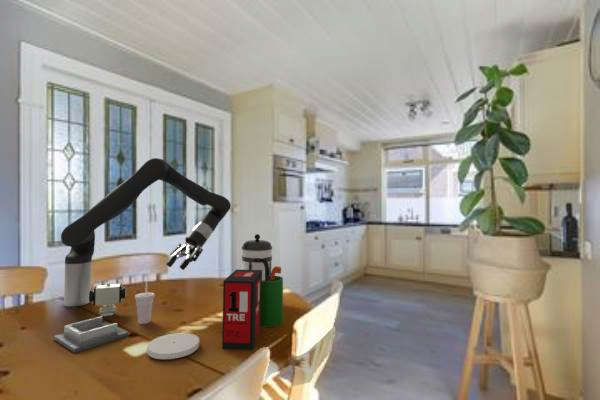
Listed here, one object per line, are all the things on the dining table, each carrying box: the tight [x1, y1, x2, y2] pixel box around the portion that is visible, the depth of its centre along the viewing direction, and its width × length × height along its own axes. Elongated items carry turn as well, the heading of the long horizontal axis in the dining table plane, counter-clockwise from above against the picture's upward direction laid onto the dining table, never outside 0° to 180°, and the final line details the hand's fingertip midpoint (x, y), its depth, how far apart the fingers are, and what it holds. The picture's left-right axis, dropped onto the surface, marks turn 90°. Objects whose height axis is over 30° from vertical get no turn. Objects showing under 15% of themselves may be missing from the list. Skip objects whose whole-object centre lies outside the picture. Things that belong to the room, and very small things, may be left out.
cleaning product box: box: [221, 269, 262, 351], centre depth 102 cm, size 16×9×20 cm, turn 178°
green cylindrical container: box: [261, 266, 284, 328], centre depth 117 cm, size 10×9×20 cm
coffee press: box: [241, 233, 273, 281], centre depth 133 cm, size 17×16×30 cm
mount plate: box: [53, 315, 129, 354], centre depth 100 cm, size 15×15×4 cm
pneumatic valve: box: [89, 282, 127, 318], centre depth 121 cm, size 6×12×12 cm, turn 115°
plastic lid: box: [146, 332, 200, 360], centre depth 93 cm, size 14×14×2 cm
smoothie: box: [134, 281, 155, 325], centre depth 115 cm, size 6×6×14 cm
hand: (174, 267), depth 125 cm, fingers open, 8 cm apart
